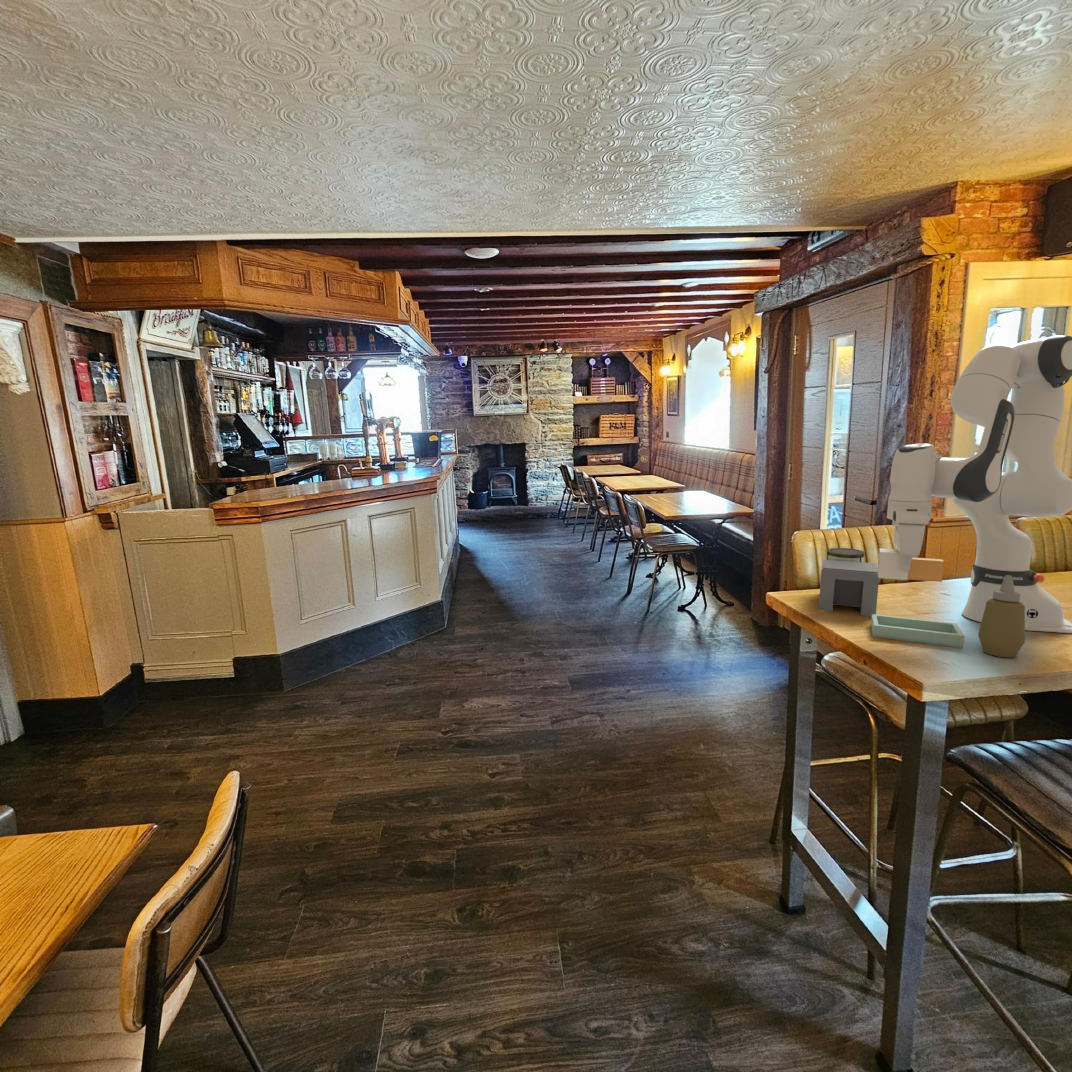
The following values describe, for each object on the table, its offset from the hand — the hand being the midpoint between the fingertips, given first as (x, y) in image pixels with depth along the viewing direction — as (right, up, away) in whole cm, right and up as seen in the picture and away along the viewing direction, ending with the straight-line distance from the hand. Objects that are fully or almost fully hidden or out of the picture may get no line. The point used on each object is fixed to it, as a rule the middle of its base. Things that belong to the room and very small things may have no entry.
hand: (903, 568), depth 138 cm
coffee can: (+5, -11, +37) cm, 39 cm away
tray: (+3, -17, +1) cm, 17 cm away
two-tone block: (+1, -2, 0) cm, 3 cm away
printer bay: (0, -13, +25) cm, 28 cm away
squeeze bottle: (+14, -19, -11) cm, 26 cm away
